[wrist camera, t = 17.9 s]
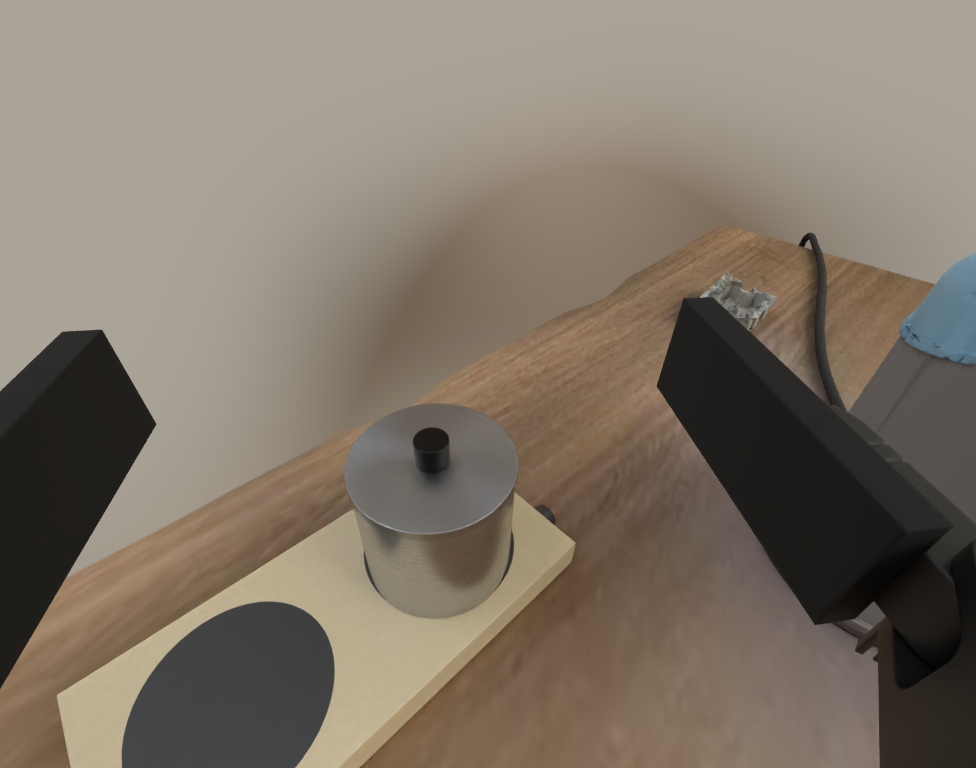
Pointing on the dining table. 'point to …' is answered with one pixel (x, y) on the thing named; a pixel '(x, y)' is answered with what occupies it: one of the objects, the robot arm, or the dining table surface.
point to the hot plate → (294, 662)
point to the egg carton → (740, 300)
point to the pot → (434, 506)
